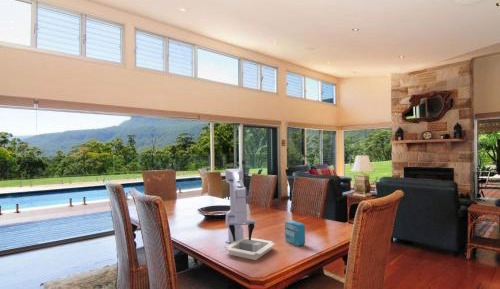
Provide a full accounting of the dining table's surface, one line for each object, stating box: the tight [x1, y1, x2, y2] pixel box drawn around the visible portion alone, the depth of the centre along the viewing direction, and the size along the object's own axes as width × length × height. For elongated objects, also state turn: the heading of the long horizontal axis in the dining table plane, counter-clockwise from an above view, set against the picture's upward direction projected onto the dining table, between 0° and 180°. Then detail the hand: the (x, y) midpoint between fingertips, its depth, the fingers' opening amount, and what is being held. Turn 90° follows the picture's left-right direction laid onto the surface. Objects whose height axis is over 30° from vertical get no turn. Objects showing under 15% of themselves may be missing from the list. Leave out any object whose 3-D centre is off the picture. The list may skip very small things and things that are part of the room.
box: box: [240, 240, 261, 252], centre depth 154 cm, size 4×11×5 cm, turn 60°
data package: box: [284, 220, 306, 247], centre depth 167 cm, size 12×4×12 cm, turn 36°
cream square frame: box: [224, 236, 276, 261], centre depth 154 cm, size 22×21×4 cm
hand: (242, 240), depth 141 cm, fingers open, 7 cm apart
